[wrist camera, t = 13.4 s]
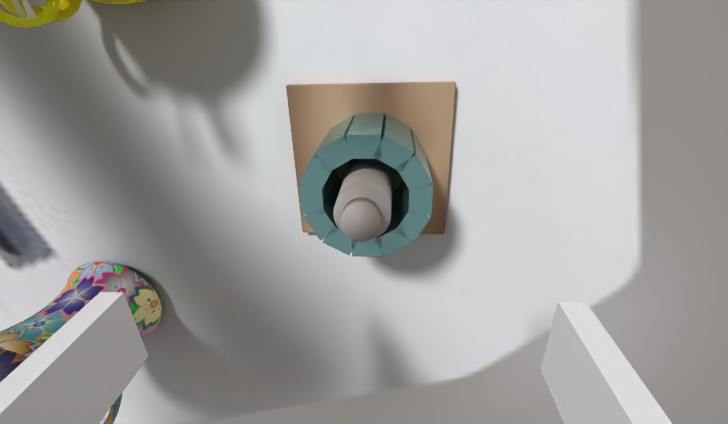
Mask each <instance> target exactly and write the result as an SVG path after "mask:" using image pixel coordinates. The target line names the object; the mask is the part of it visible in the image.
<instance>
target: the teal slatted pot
mask: <svg viewBox="0 0 728 424" xmlns="http://www.w3.org/2000/svg"><path fill="white" fill-rule="evenodd" d="M351 159H378V160H380V161H382V162H383V163H385V164H387V165H389V166H391V167H392V168H394V169H396V170H398V172H399V174H400V175H401V177H402V179H403V180H402V182H401V183H400V185H399V187H398V188H397V190H395V191H393V192H392V198H391V220H390V224H389V226H388V228H387V229H386V230H385V232H384V233H382V234H381V235H380V236H378V237H376V238H374V239H371V240H368V241H364V242H359V241H354V240H352V239H350V238H348V237H347V236H346V235H345V234H344V233H342V232H341V231H340V229H339V228H338V227H337V225H336V223H335V220H334V216H333V211H334V206H335V203H336V200H337V197H338V195H339V192H340V189H341V186H342V183H343V182H342V180H341V179H340V177H339V176H338V167H339V166H340V165H342V164H344V163H346V162H347V161H349V160H351ZM299 192H300V201H301V210H302V214H305V215H304V219H305V220H306V222H307V223H308V224H309V226H310V227H311V228H312V230H313V231H314V232H315V234H316V235H317V236H318V238H319V239H320V240H322V239H324V241H323V243H325V244H327V245H329V246H331V247H333V248H335V249H337V250H339V251H341V252H343V253H345V254H347V255H350V253H351V252H352V256H367V257H382V252H383V254H384V255H385V256H386V255H388V254H390V253H393V252H395V251H397V250H399V249H401V248H403V247H405V246H407V245H410V244H411V240H412V241H413V242H414V241H415V239H416V238H417V236H418V235H419V234H420V232H421V231H422V229H423V228H424V227H425V225H426V224H427V222H428V221H429V220H430V215H432V198H433V183H432V179H431V175H430V171H429V167H428V163H427V159H426V155H425V151H424V149H423V147H422V145H421V144H420V142H419V140H418V138H417V136H416V135H415V133H414V131H413V129H410V126H408V125H407V124H405V123H403V122H401V121H400V120H398V119H396V118H394V117H393V116H391V115H389V114H386V116H385V117H384V112H383V113H357V114H356V116H355V114H353V115H351V116H350V117H348V118H346V119H345V120H343V121H342V122H340V123H338V124H337V125H335V126H333V127H332V128H331V130H329V132H328V133H327V135H326V136H325V138H324V139H323V141H322V142H321V144H320V145H319V147H318V148H317V150H316V151H315V153H314V154H313V156H312V158H311V160H310V162H309V164H308V166H307V168H306V170H305V172H304V174H303V176H302V178H301V180H300V184H299Z"/></svg>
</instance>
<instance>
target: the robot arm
mask: <svg viewBox="0 0 728 424" xmlns="http://www.w3.org/2000/svg"><path fill="white" fill-rule="evenodd" d="M148 357H149V356H148V353H147V351H146V348H145V346H144V343H143V341H142V338H141V336H140V333H139V330H138V328H137V325H136V323H135V320H134V318H133V315H132V313H131V310H130V308H129V305H128V302H127V300H126V297H125V295H124V292H100V293H99V294H98V295H97V296H95V297H94V298H93V299H92V300H91V301H90V302H89V303H88V304H87V305H85V306H84V307H83V308H82V309H81V310H80V311H79V312H78V313H77V314H75V315H74V316H73V317H72V318H71V319H70V320H69V321H68V322H67V323H66V324H64V325H63V326H62V327H61V328H60V329H59V330H58V331H57V332H56V333H54V334H53V335H52V336H51V337H50V338H49V339H48V340H47V341H46V342H45V343H43V344H42V345H41V346H40V347H39V348H38V349H37V350H36V351H35V352H33V353H32V354H31V355H30V356H29V357H28V358H27V359H26V360H25V361H23V362H22V363H21V364H20V365H19V366H18V367H17V368H16V369H15V370H14V371H12V372H11V373H10V374H9V375H8V376H7V377H6V378H5V379H4V380H2V381H1V382H0V424H99V423H100V421H101V420H102V419H103V417H104V416H105V415H106V413H107V412H108V411H109V409H110V408H111V406H112V405H113V404H114V402H115V401H116V400H117V398H118V397H119V396H120V394H121V393H122V392H123V390H124V389H125V388H126V386H127V385H128V384H129V382H130V381H131V380H132V378H133V377H134V375H135V374H136V373H137V371H138V370H139V369H140V367H141V366H142V365H143V363H144V362H145V361H146V359H147V358H148ZM540 370H541V372H542V374H543V377H544V379H545V381H546V383H547V386H548V388H549V390H550V393H551V395H552V397H553V399H554V402H555V404H556V406H557V408H558V411H559V413H560V415H561V418H562V420H563V422H564V424H672V423H671V422H670V420H669V419H668V417H667V416H666V414H665V413H664V412H663V411H662V409H661V408H660V406H659V405H658V403H657V402H656V401H655V399H654V398H653V396H652V395H651V393H650V392H649V391H648V389H647V388H646V386H645V385H644V383H643V382H642V381H641V379H640V378H639V376H638V375H637V374H636V372H635V371H634V369H633V368H632V367H631V365H630V364H629V362H628V361H627V360H626V358H625V357H624V355H623V354H622V353H621V351H620V350H619V348H618V347H617V346H616V344H615V343H614V341H613V340H612V338H611V337H610V336H609V334H608V333H607V331H606V330H605V329H604V327H603V326H602V324H601V323H600V322H599V320H598V319H597V317H596V316H595V315H594V313H593V312H592V310H591V309H590V307H589V306H588V305H587V303H586V302H558V303H557V307H556V311H555V315H554V319H553V323H552V327H551V330H550V334H549V338H548V342H547V346H546V350H545V354H544V358H543V362H542V366H541V369H540Z"/></svg>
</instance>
